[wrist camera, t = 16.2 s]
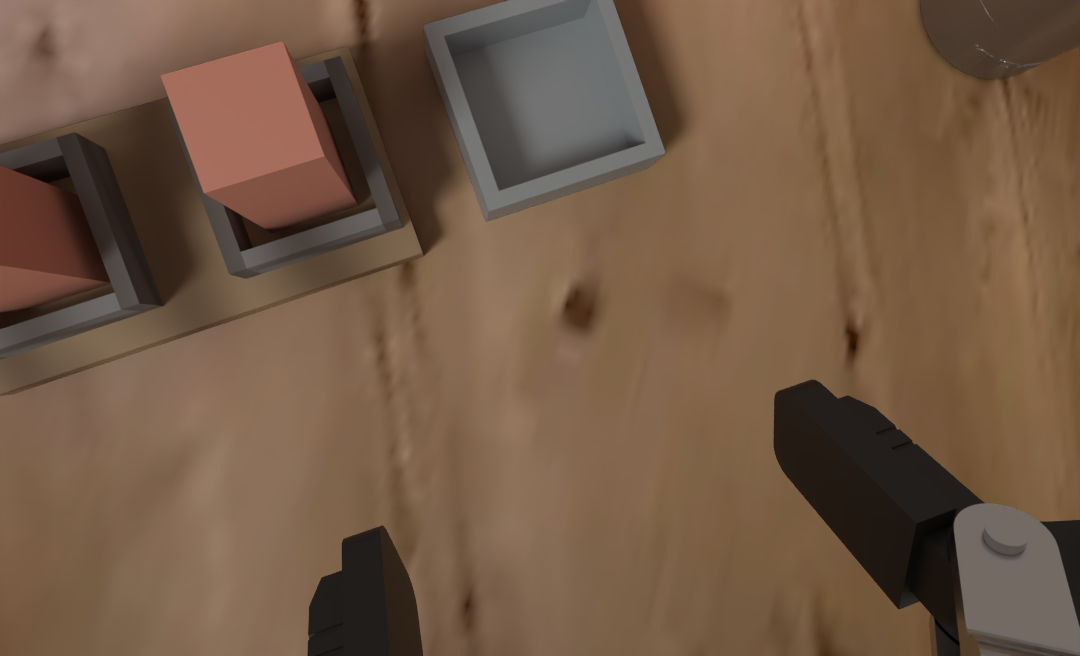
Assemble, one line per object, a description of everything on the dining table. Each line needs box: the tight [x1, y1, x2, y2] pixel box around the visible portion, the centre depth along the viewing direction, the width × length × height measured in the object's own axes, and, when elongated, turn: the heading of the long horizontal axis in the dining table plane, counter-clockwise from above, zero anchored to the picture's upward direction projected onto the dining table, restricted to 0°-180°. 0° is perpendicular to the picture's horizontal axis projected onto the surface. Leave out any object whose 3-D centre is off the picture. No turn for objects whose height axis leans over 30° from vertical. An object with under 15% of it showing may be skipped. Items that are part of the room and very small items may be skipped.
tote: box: [423, 0, 665, 222], centre depth 34 cm, size 10×10×3 cm
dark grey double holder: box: [0, 46, 423, 396], centre depth 31 cm, size 21×11×4 cm, turn 109°
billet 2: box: [160, 41, 359, 233], centre depth 28 cm, size 4×4×9 cm
